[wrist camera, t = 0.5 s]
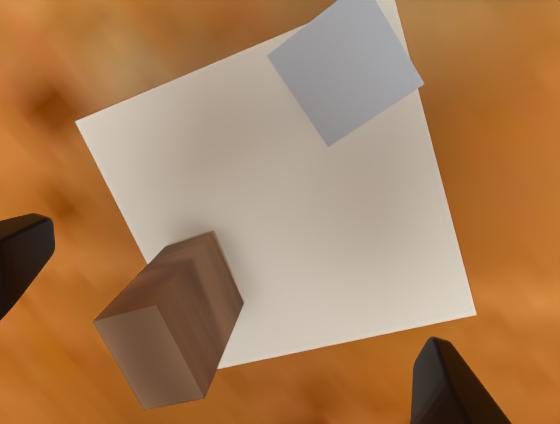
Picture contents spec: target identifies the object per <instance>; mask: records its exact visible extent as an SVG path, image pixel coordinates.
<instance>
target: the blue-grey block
mask: <svg viewBox="0 0 560 424" xmlns="http://www.w3.org/2000/svg"><path fill="white" fill-rule="evenodd" d="M267 57H268V58H269V60H270V61H271V63H272V64H273V66H274V67H275V69H276V70H277V72H278V73H279V75H280V76H281V78H282V79H283V81H284V82H285V84H286V85H287V87H288V88H289V90H290V91H291V93H292V94H293V96H294V97H295V99H296V100H297V101H298V103H299V104H300V106H301V107H302V109H303V110H304V112H305V113H306V115H307V116H308V118H309V119H310V121H311V122H312V124H313V125H314V127H315V128H316V130H317V131H318V133H319V134H320V136H321V137H322V139H323V140H324V142H325V143H326V145H327V146H328V147H330V146H331V145H333V144H334V143H336V142H337V141H339V140H340V139H342V138H343V137H345V136H346V135H348V134H349V133H351V132H352V131H354V130H355V129H357V128H358V127H360V126H361V125H363V124H365V123H366V122H368V121H369V120H371V119H372V118H374V117H375V116H377V115H378V114H380V113H381V112H383V111H384V110H386V109H387V108H389V107H390V106H392V105H393V104H395V103H396V102H398V101H399V100H401V99H403V98H404V97H406V96H407V95H409V94H410V93H412V92H413V91H415V90H416V89H418V88H419V87H421V86H422V85H424V82H423V80H422V79H421V77H420V75H419V73H418V72H417V70H416V68H415V67H414V65H413V63H412V62H411V60H410V58H409V56H408V55H407V53H406V51H405V50H404V48H403V46H402V45H401V43H400V41H399V39H398V38H397V36H396V34H395V33H394V31H393V29H392V28H391V26H390V24H389V23H388V21H387V19H386V17H385V16H384V14H383V12H382V11H381V9H380V7H379V6H378V4H377V2H376V0H337V1H336V2H335V3H333V4H332V5H331V6H330V7H328V8H327V9H326V10H325V11H323V12H322V13H321V14H319V15H318V16H317V17H316V18H314V19H313V20H312V21H311V22H309V23H308V24H307V25H305V26H304V27H303V28H302V29H300V30H299V31H298V32H297V33H295V34H294V35H293V36H291V37H290V38H289V39H288V40H286V41H285V42H284V43H283V44H281V45H280V46H279V47H277V48H276V49H275V50H274V51H272V52H271V53H270V54H269V55H267Z"/></svg>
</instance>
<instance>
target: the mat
mask: <svg viewBox="0 0 560 424" xmlns="http://www.w3.org/2000/svg"><path fill="white" fill-rule="evenodd" d="M376 2H377V4H378V6H379V7H380V9H381V11H382V12H383V14H384V16H385V17H386V19H387V21H388V23H389V24H390V26H391V28H392V29H393V31H394V33H395V34H396V36H397V38H398V39H399V41H400V43H401V45H402V46H403V48H404V50H405V51H406V53H407V55H408V56H409V53H408V49H407V45H406V41H405V38H404V34H403V30H402V26H401V22H400V18H399V14H398V11H397V7H396V3H395V0H376ZM307 24H308V23H307ZM307 24H305V25H307ZM305 25H303V26H300V27H298V28H295V29H293V30H291V31H288V32H286V33H284V34H281V35H279V36H276V37H274V38H272V39H269V40H267V41H265V42H262V43H260V44H258V45H255V46H253V47H250V48H248V49H246V50H243V51H241V52H239V53H236V54H234V55H231V56H229V57H227V58H224V59H222V60H220V61H217V62H215V63H212V64H210V65H208V66H205V67H203V68H201V69H198V70H196V71H193V72H191V73H189V74H186V75H184V76H182V77H179V78H177V79H174V80H172V81H170V82H167V83H165V84H163V85H160V86H158V87H156V88H153V89H151V90H148V91H146V92H144V93H141V94H139V95H137V96H134V97H132V98H129V99H127V100H125V101H122V102H120V103H118V104H115V105H113V106H110V107H108V108H106V109H103V110H101V111H99V112H96V113H94V114H91V115H89V116H87V117H84V118H82V119H80V120H77V121H75V123H76V125H77V126H78V128H79V130H80V132H81V134H82V136H83V138H84V140H85V142H86V144H87V146H88V148H89V150H90V152H91V154H92V156H93V158H94V160H95V162H96V164H97V166H98V168H99V170H100V172H101V174H102V176H103V178H104V180H105V182H106V184H107V186H108V187H109V189H110V191H111V193H112V195H113V197H114V199H115V201H116V203H117V205H118V207H119V209H120V211H121V213H122V215H123V217H124V219H125V221H126V223H127V225H128V227H129V229H130V231H131V233H132V235H133V237H134V239H135V241H136V243H137V245H138V247H139V248H140V250H141V252H142V254H143V256H144V258H145V260H146V262H147V264H149V263H150V262H151V261H152V260H153V259H154V258H155V257H156V255H157V254H158V253H159V252H160V251H161V250H162V249H163V248H164V247H165V246H166V245H167V244H169V243H173V242H176V241H179V240H182V239H186V238H189V237H192V236H196V235H199V234H202V233H205V232H209V231H212V230H214V231H215V234H216V236H217V238H218V240H219V243H220V245H221V247H222V249H223V252H224V254H225V256H226V258H227V261H228V263H229V265H230V267H231V270H232V272H233V274H234V276H235V279H236V281H237V283H238V285H239V288H240V290H241V292H242V294H243V297H244V299H245V302H244V305H243V307H242V310H241V312H240V314H239V317H238V319H237V322H236V324H235V327H234V329H233V331H232V334H231V336H230V339H229V341H228V343H227V346H226V348H225V351H224V353H223V355H222V358H221V360H220V363H219V365H218V368H217V369H220V368H225V367H230V366H235V365H239V364H244V363H249V362H254V361H259V360H263V359H268V358H273V357H278V356H282V355H287V354H292V353H297V352H302V351H306V350H311V349H316V348H321V347H325V346H330V345H335V344H340V343H345V342H349V341H354V340H359V339H364V338H368V337H373V336H378V335H383V334H388V333H392V332H397V331H402V330H407V329H411V328H416V327H421V326H426V325H431V324H435V323H440V322H445V321H450V320H455V319H459V318H464V317H469V316H474V315H477V314H476V310H475V307H474V303H473V299H472V295H471V291H470V287H469V284H468V280H467V276H466V272H465V268H464V264H463V260H462V257H461V253H460V249H459V245H458V241H457V237H456V234H455V230H454V226H453V222H452V218H451V214H450V211H449V207H448V203H447V199H446V195H445V191H444V187H443V184H442V180H441V176H440V172H439V168H438V164H437V161H436V157H435V153H434V149H433V145H432V141H431V137H430V134H429V130H428V126H427V122H426V118H425V114H424V111H423V107H422V103H421V99H420V95H419V91H418V89H416V90H415V91H413V92H412V93H410V94H409V95H407V96H406V97H404V98H403V99H401V100H399V101H398V102H396V103H395V104H393V105H392V106H390V107H389V108H387V109H386V110H384V111H383V112H381V113H380V114H378V115H377V116H375V117H374V118H372V119H371V120H369V121H368V122H366V123H365V124H363V125H361V126H360V127H358V128H357V129H355V130H354V131H352V132H351V133H349V134H348V135H346V136H345V137H343V138H342V139H340V140H339V141H337V142H336V143H334V144H333V145H331V146H330V147H328V146H327V145H326V143H325V142H324V140H323V139H322V137H321V136H320V134H319V133H318V131H317V130H316V128H315V127H314V125H313V124H312V122H311V121H310V119H309V118H308V116H307V115H306V113H305V112H304V110H303V109H302V107H301V106H300V104H299V103H298V101H297V100H296V99H295V97H294V96H293V94H292V93H291V91H290V90H289V88H288V87H287V85H286V84H285V82H284V81H283V79H282V78H281V76H280V75H279V73H278V72H277V70H276V69H275V67H274V66H273V64H272V63H271V61H270V60H269V58H268V57H267V55H269V54H270V53H271V52H272V51H274V50H275V49H276V48H277V47H279V46H280V45H281V44H283V43H284V42H285V41H286V40H288V39H289V38H290V37H291V36H293V35H294V34H295V33H297V32H298V31H299V30H300V29H302V28H303V27H304V26H305ZM409 58H410V57H409Z"/></svg>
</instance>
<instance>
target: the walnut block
mask: <svg viewBox="0 0 560 424" xmlns="http://www.w3.org/2000/svg"><path fill="white" fill-rule="evenodd" d="M244 302H245V299H244V297H243V294H242V292H241V290H240V288H239V285H238V283H237V281H236V279H235V276H234V274H233V272H232V270H231V267H230V265H229V263H228V261H227V258H226V256H225V254H224V252H223V249H222V247H221V245H220V243H219V240H218V238H217V236H216V234H215V231H214V230H212V231H209V232H205V233H202V234H199V235H196V236H192V237H189V238H186V239H182V240H179V241H176V242H173V243H169V244H167V245H166V246H165V247H164V248H163V249H162V250H161V251H160V252H159V253H158V254H157V255H156V257H155V258H154V259H153V260H152V261H151V262H150V263H149V264H148V265H147V266H146V267H145V268H144V269H143V270H142V271H141V272H140V273H139V274H138V275H137V276H136V277H135V278H134V279H133V280H132V281H131V282H130V283H129V285H128V286H127V287H126V288H125V289H124V290H123V291H122V292H121V293H120V294H119V295H118V296H117V297H116V298H115V299H114V300H113V301H112V302H111V303H110V304H109V305H108V306H107V307H106V308H105V309H104V310H103V311H102V313H101V314H100V315H99V316H98V317H97V318H96V319H95V320H94V321H93V323H94V325H95V326H96V328H97V330H98V331H99V333H100V335H101V337H102V338H103V340H104V342H105V344H106V345H107V347H108V349H109V351H110V352H111V354H112V356H113V357H114V359H115V361H116V363H117V364H118V366H119V368H120V370H121V371H122V373H123V375H124V377H125V378H126V380H127V382H128V383H129V385H130V387H131V389H132V390H133V392H134V394H135V396H136V397H137V399H138V401H139V403H140V404H141V406H142V408H143V409H144V410H147V409H153V408H158V407H163V406H168V405H174V404H179V403H184V402H189V401H195V400H200V399H205V397H206V394H207V392H208V389H209V387H210V384H211V382H212V380H213V377H214V375H215V372H216V370H217V368H218V365H219V363H220V360H221V358H222V355H223V353H224V351H225V348H226V346H227V343H228V341H229V339H230V336H231V334H232V331H233V329H234V327H235V324H236V322H237V319H238V317H239V314H240V312H241V310H242V307H243V305H244Z"/></svg>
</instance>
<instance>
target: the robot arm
mask: <svg viewBox="0 0 560 424" xmlns="http://www.w3.org/2000/svg"><path fill="white" fill-rule="evenodd" d="M54 250H55V237H54V225H53V221H52V219H51V218H49V217H46V216H43V215H40V214H36V213H31V214H27V215H23V216H19V217H14V218H10V219H6V220H2V221H0V320H1V319H2V318H3V317H4V316H5V315H6V314H7V313H8V311H9V310H10V309H11V308H12V307H13V306H14V305H15V303H16V302H17V301H18V300H19V298H20V297H21V296H22V294H23V293H24V292H25V290H26V289H27V288H28V287H29V285H30V284H31V283H32V281H33V280H34V279H35V277H36V276H37V275H38V273H39V272H40V271H41V269H42V268H43V267H44V265H45V264H46V263H47V262H48V260H49V259H50V258H51V256H52V254H53V252H54ZM411 424H512V423H511V422H510V421H509V419H508V418H507V417H506V415H505V414H504V413H503V411H502V410H501V409H500V407H499V406H498V405H497V403H496V402H495V401H494V399H493V398H492V397H491V395H490V394H489V393H488V391H487V390H486V389H485V387H484V386H483V385H482V383H481V382H480V381H479V379H478V378H477V377H476V375H475V374H474V373H473V371H472V370H471V369H470V367H469V366H468V365H467V363H466V362H465V361H464V359H463V358H462V357H461V355H460V354H459V353H458V351H457V350H456V349H455V347H454V346H453V345H452V343H451V342H449V341H447V340H444V339H441V338H437V337H430V338H429V339H428V340H427V342H426V344H425V345H424V347H423V349H422V350H421V352H420V354H419V355H418V357H417V359H416V361H415V364H414V368H413V385H412V405H411Z"/></svg>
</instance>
